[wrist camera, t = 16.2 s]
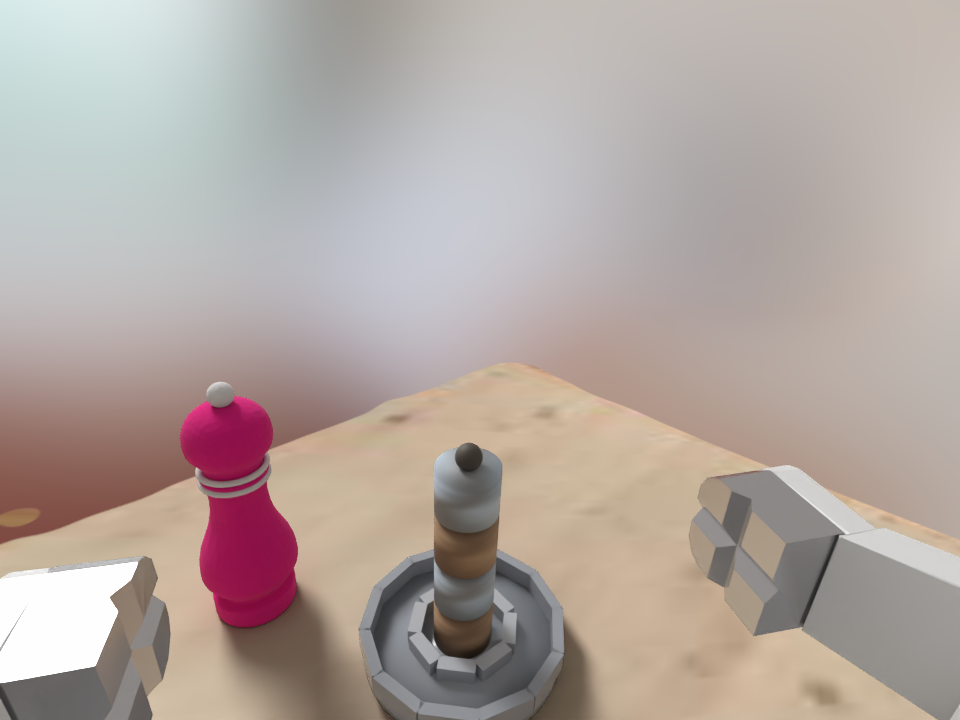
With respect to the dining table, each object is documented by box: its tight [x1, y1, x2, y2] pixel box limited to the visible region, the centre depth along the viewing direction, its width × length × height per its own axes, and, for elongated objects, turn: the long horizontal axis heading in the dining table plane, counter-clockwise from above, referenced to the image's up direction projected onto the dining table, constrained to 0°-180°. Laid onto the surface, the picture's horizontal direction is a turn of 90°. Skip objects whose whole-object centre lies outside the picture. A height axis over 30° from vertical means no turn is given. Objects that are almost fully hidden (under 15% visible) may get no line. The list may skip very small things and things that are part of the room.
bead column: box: [434, 443, 502, 659], centre depth 39 cm, size 4×4×17 cm
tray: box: [359, 549, 564, 720], centre depth 42 cm, size 15×15×3 cm
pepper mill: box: [180, 382, 298, 627], centre depth 42 cm, size 7×7×20 cm
